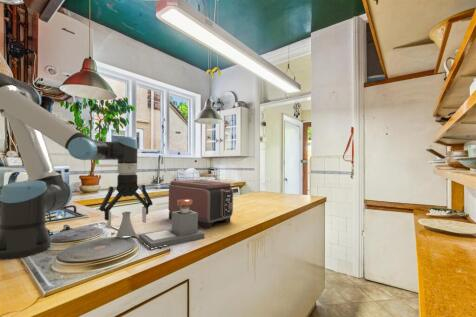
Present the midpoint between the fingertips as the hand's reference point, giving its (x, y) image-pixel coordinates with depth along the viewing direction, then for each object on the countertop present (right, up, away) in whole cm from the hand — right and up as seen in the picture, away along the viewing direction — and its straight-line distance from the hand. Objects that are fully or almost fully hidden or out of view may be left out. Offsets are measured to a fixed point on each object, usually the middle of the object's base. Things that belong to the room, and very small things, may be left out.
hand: (127, 225), depth 99 cm
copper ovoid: (+23, +2, +2) cm, 24 cm away
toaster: (+27, -6, +28) cm, 39 cm away
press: (+19, -5, -2) cm, 20 cm away
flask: (-1, -5, 0) cm, 5 cm away
